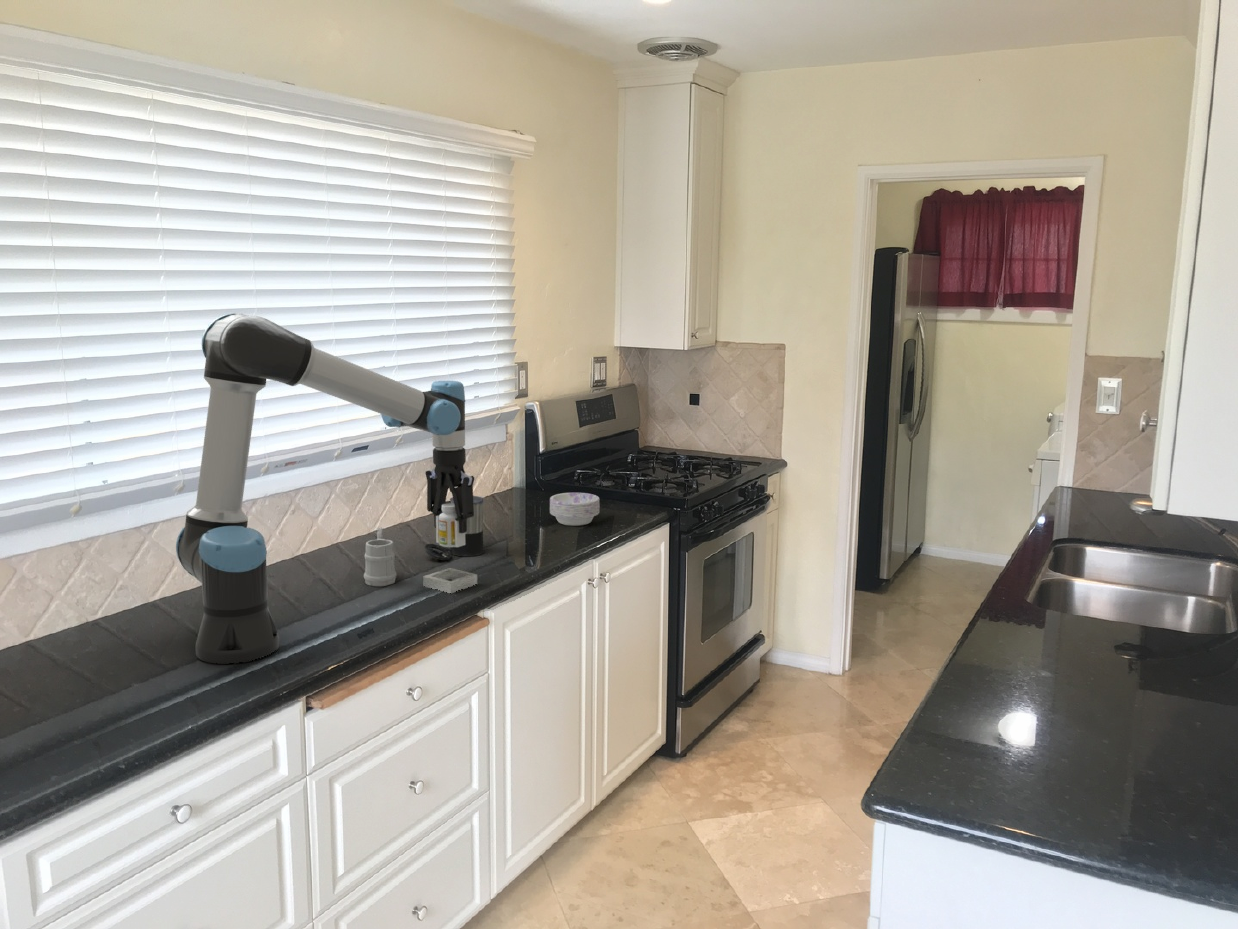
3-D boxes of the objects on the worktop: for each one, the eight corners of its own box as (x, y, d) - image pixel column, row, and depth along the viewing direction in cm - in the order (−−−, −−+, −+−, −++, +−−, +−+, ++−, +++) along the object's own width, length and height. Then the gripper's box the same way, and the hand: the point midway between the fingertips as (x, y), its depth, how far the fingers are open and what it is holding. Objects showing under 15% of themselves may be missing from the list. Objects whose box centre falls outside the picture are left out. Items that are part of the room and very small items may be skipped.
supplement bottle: (463, 541, 231) (463, 502, 229) (460, 547, 226) (460, 507, 224) (441, 541, 231) (440, 502, 229) (437, 547, 226) (436, 507, 224)
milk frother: (488, 548, 263) (488, 495, 260) (473, 565, 247) (473, 508, 245) (437, 546, 264) (437, 493, 262) (420, 562, 249) (419, 506, 246)
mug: (363, 587, 227) (362, 538, 225) (365, 573, 238) (363, 526, 236) (396, 586, 229) (395, 537, 226) (396, 571, 240) (395, 525, 238)
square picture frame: (450, 593, 224) (450, 583, 223) (423, 586, 229) (423, 576, 228) (477, 584, 231) (477, 574, 231) (449, 577, 236) (449, 567, 236)
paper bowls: (542, 525, 289) (542, 500, 288) (559, 514, 304) (560, 490, 302) (590, 530, 285) (590, 504, 284) (605, 519, 299) (606, 494, 298)
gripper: (489, 449, 222) (490, 546, 226) (432, 441, 232) (434, 534, 236) (467, 454, 216) (468, 553, 220) (409, 445, 226) (411, 540, 230)
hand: (450, 543), depth 228 cm, fingers closed on supplement bottle, 5 cm apart
